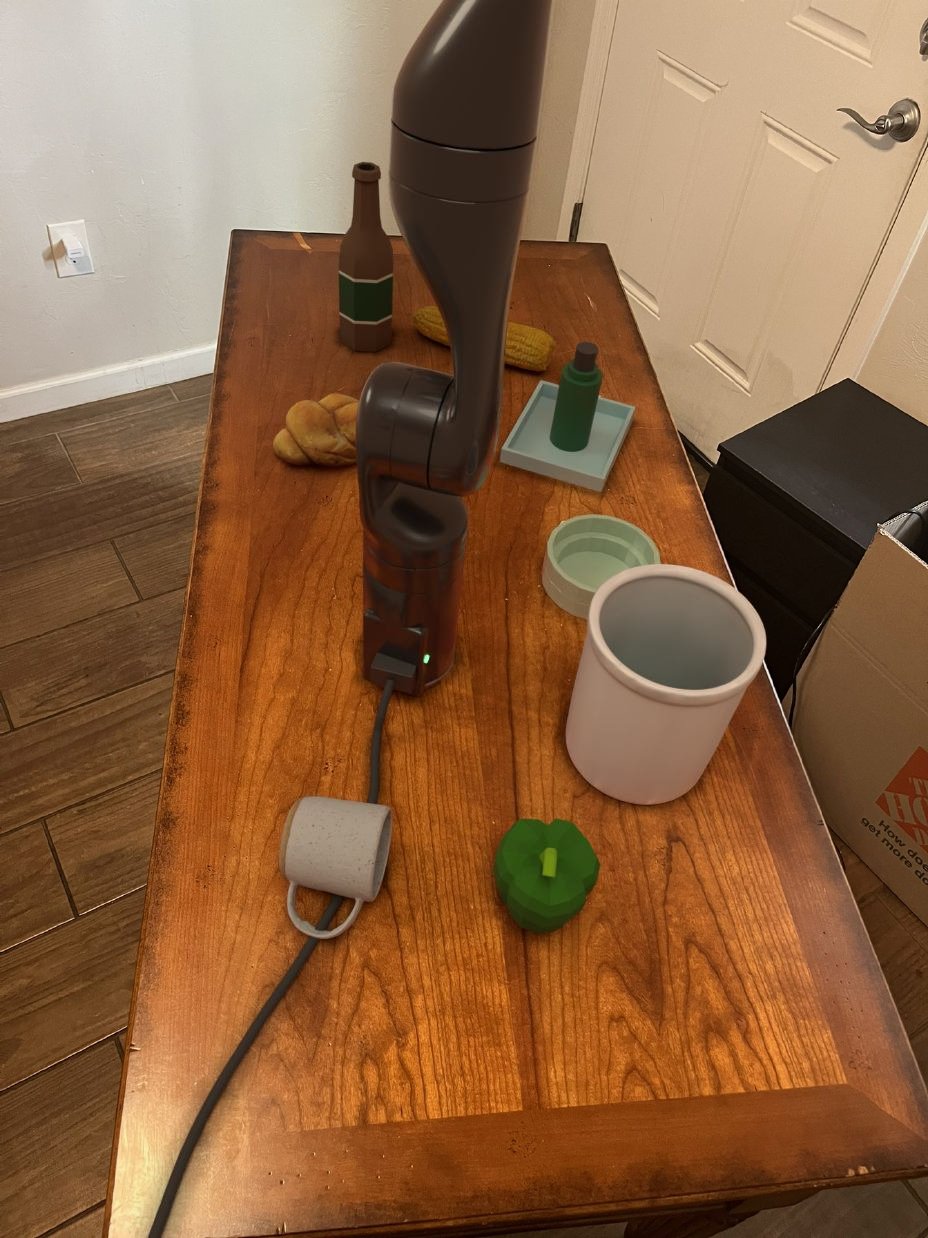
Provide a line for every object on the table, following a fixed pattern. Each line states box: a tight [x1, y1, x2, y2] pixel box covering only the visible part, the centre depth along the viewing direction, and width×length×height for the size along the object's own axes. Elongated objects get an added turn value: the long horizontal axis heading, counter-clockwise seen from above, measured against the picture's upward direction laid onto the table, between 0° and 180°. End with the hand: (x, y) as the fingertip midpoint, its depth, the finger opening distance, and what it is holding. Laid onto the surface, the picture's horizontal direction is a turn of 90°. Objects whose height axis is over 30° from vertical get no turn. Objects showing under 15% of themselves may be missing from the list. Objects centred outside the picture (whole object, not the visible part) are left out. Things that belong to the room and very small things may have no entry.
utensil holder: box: [565, 563, 767, 806], centre depth 85 cm, size 15×15×18 cm
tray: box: [499, 379, 637, 493], centre depth 120 cm, size 16×13×3 cm
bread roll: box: [272, 392, 359, 467], centre depth 113 cm, size 13×10×8 cm
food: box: [411, 305, 557, 372], centre depth 131 cm, size 21×6×6 cm, turn 68°
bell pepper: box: [492, 818, 601, 935], centre depth 76 cm, size 8×8×10 cm
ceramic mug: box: [278, 795, 393, 940], centre depth 76 cm, size 11×8×8 cm
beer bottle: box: [338, 161, 394, 353], centre depth 125 cm, size 8×8×24 cm
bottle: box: [550, 341, 604, 452], centre depth 116 cm, size 5×5×14 cm
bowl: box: [541, 513, 662, 621], centre depth 103 cm, size 12×12×5 cm
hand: (467, 239), depth 97 cm, fingers open, 8 cm apart
